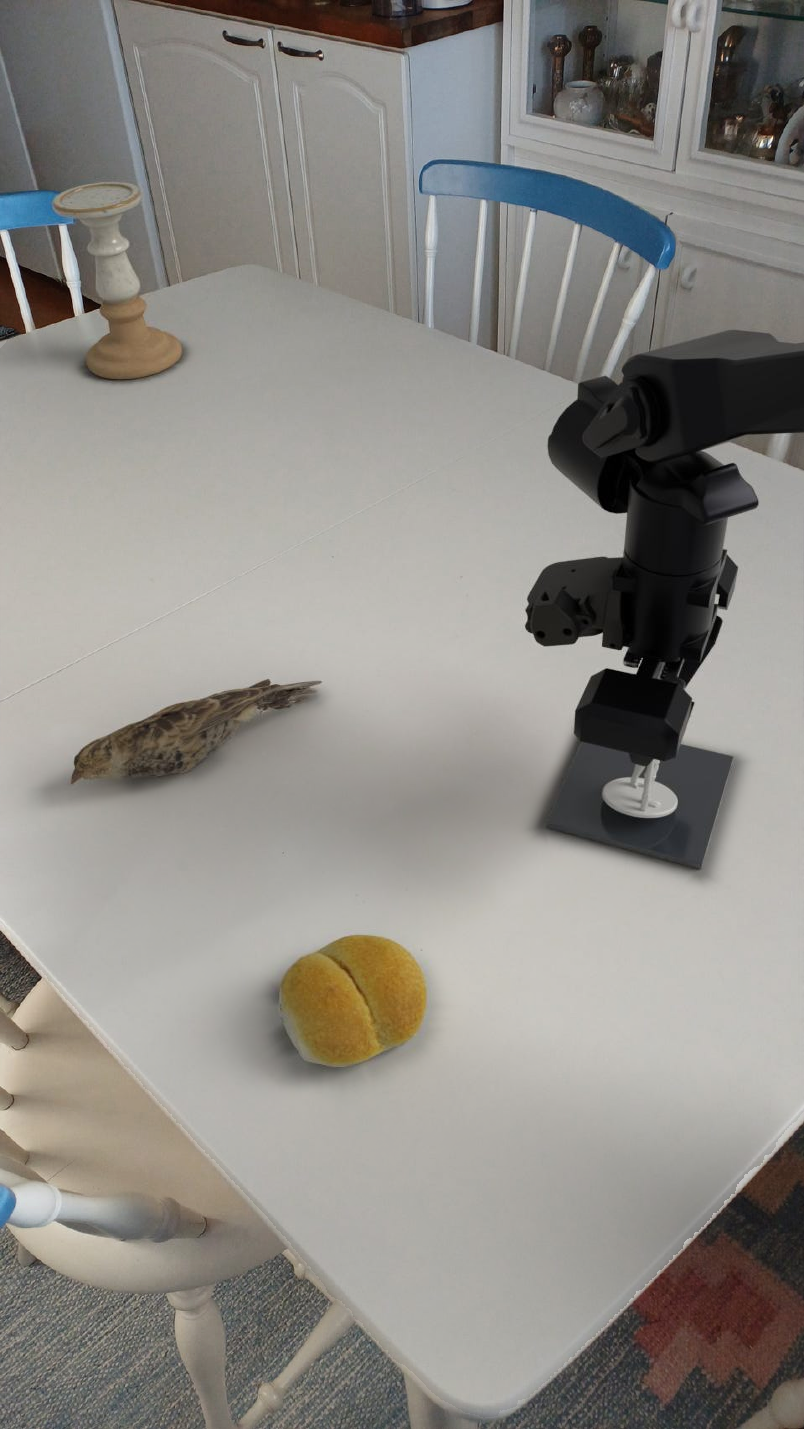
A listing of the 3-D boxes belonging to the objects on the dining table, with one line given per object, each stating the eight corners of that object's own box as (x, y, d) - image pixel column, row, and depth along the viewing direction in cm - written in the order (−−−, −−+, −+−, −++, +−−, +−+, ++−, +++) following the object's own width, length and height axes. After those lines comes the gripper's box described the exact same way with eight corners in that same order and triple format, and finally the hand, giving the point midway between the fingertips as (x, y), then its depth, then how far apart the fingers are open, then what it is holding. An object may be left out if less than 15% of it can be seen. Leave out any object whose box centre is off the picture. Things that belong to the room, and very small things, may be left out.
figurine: (679, 822, 74) (708, 660, 68) (602, 813, 74) (624, 652, 69) (674, 784, 78) (701, 631, 73) (601, 776, 79) (622, 623, 74)
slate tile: (732, 761, 80) (734, 756, 80) (701, 869, 73) (702, 864, 73) (589, 727, 84) (589, 722, 84) (545, 827, 77) (545, 821, 76)
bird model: (81, 807, 76) (53, 745, 77) (86, 822, 82) (60, 764, 83) (341, 695, 83) (313, 639, 84) (329, 717, 89) (302, 664, 89)
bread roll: (450, 1027, 65) (448, 990, 63) (316, 1094, 63) (308, 1059, 60) (389, 929, 71) (384, 892, 68) (263, 987, 68) (253, 951, 66)
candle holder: (185, 372, 136) (150, 204, 123) (87, 387, 135) (41, 218, 121) (179, 333, 145) (146, 173, 132) (87, 347, 144) (44, 186, 130)
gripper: (586, 454, 73) (576, 635, 83) (491, 612, 61) (493, 802, 71) (754, 479, 69) (721, 666, 80) (690, 653, 57) (661, 846, 67)
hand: (649, 738), depth 75 cm, fingers closed on figurine, 5 cm apart
